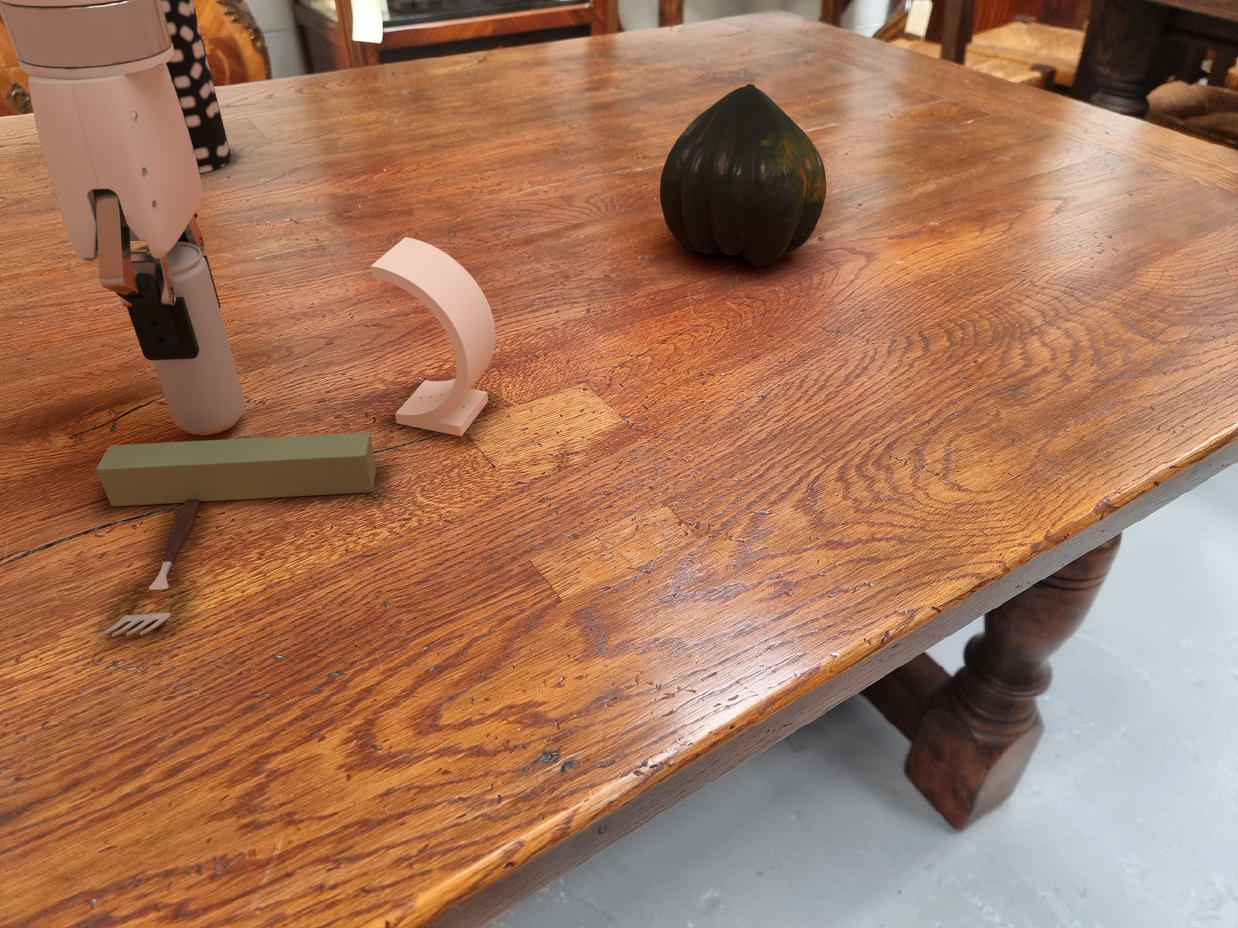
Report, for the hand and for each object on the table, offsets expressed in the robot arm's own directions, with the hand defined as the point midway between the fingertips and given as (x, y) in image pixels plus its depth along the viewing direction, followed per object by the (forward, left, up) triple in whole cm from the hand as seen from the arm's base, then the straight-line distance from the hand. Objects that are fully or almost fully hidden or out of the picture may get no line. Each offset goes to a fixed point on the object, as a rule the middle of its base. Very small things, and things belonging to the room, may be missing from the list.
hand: (184, 331), depth 59 cm
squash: (+42, +26, -8) cm, 50 cm away
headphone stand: (+16, 0, -8) cm, 18 cm away
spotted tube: (-15, +53, -8) cm, 56 cm away
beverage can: (0, 0, -7) cm, 7 cm away
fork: (+1, -13, -8) cm, 15 cm away
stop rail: (+4, -7, -8) cm, 11 cm away
